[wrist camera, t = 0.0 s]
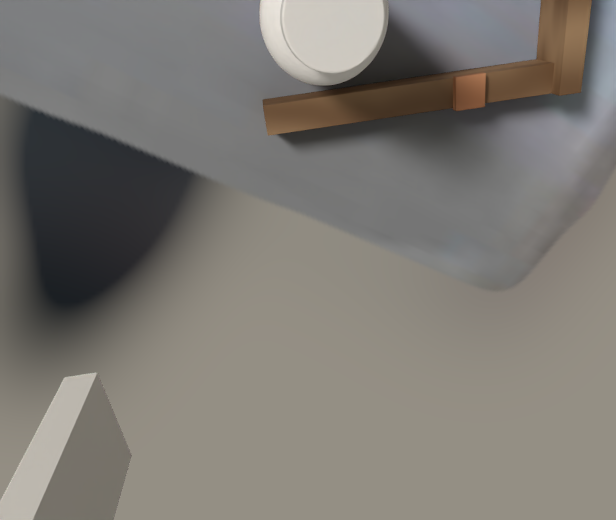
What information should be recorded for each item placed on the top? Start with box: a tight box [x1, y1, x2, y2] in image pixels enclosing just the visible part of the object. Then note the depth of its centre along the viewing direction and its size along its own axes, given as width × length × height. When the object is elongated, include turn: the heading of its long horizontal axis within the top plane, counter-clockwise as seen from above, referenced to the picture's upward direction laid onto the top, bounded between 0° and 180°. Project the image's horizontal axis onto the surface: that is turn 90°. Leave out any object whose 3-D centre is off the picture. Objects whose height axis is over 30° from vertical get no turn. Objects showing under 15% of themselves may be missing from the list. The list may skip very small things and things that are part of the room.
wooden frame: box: [263, 0, 592, 135], centre depth 32 cm, size 14×22×4 cm, turn 97°
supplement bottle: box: [260, 0, 389, 85], centre depth 28 cm, size 7×7×13 cm
